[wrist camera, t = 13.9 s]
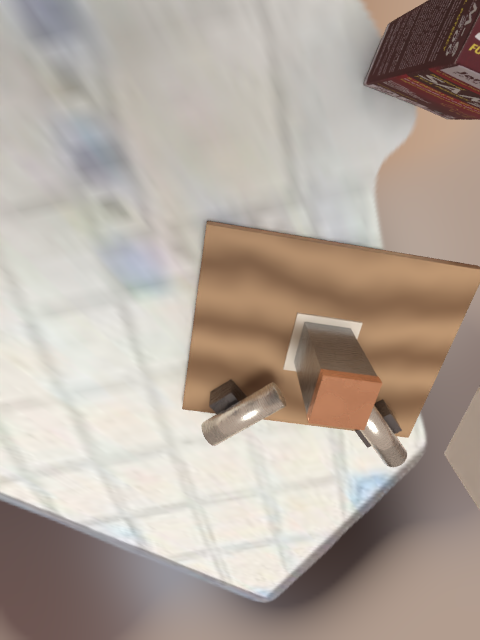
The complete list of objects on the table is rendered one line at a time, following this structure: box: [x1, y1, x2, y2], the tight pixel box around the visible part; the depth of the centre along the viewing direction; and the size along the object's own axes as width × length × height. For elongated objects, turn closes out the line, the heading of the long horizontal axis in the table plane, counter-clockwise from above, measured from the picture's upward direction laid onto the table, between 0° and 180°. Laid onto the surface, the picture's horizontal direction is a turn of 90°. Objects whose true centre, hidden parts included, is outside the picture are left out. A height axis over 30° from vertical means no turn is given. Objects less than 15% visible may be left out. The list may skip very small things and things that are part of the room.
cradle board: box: [182, 221, 480, 437], centre depth 44 cm, size 22×28×2 cm
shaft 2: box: [355, 399, 407, 467], centre depth 45 cm, size 9×4×5 cm, turn 35°
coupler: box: [294, 322, 383, 430], centre depth 39 cm, size 5×5×10 cm
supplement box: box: [364, 0, 480, 120], centre depth 27 cm, size 9×5×16 cm, turn 72°
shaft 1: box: [202, 379, 286, 446], centre depth 44 cm, size 9×4×5 cm, turn 125°
